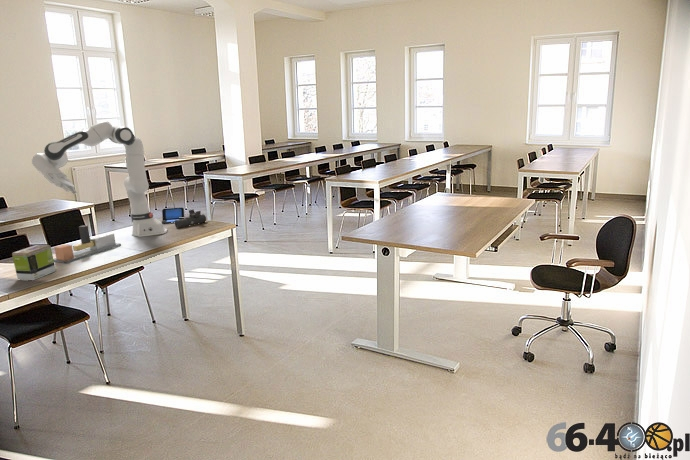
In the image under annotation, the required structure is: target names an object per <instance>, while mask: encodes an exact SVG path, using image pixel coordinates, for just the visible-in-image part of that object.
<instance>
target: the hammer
mask: <svg viewBox="0 0 690 460" xmlns="http://www.w3.org/2000/svg"><path fill="white" fill-rule="evenodd" d="M78 231H79V236H80V243H79V244H78V243H77V244H74V245H72V249H73V252H78V251H81V250H84V249H87V248H90V247H93V246H95V242H94V240H91V241H90V238H91V237H90V236H91V235H90V231H89V226H88V225H80V226H78Z"/></svg>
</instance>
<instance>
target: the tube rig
mask: <svg viewBox="0 0 690 460" xmlns="http://www.w3.org/2000/svg"><path fill="white" fill-rule="evenodd" d="M91 240H94V242H95V246H93V247H90V248H86V249H83V250H80V251H74V250H73V245H72V244H62V245H61V244H60V245H57V246H54V252H55V258H53V260H54V263H61V264H62V263H63V264H69V263H72V262H75V261H78V260H81V259H85V258H87V257H90V256H91V257H92V256H94V255H97V254H99V253H102V252H106V251H108V250H112V249H114V248H117V247H121V246H122V243H121V242H120V243H118V242H116V239H115V233H112V232H106V233H103V234H100V235H95V236H94V237H93V236H92V237H90V241H91Z"/></svg>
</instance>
